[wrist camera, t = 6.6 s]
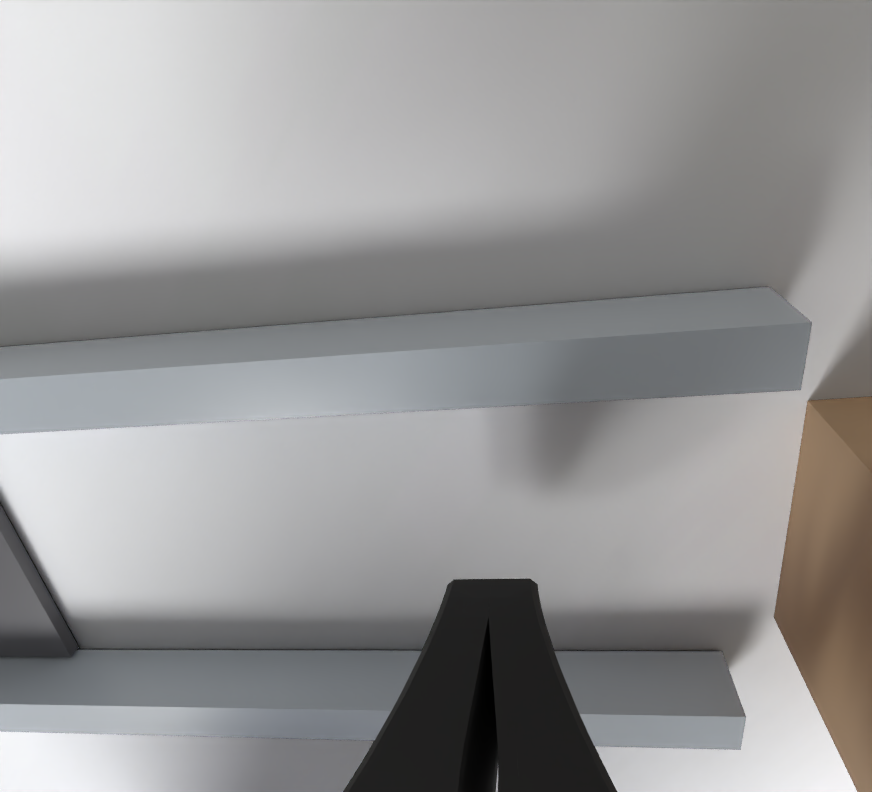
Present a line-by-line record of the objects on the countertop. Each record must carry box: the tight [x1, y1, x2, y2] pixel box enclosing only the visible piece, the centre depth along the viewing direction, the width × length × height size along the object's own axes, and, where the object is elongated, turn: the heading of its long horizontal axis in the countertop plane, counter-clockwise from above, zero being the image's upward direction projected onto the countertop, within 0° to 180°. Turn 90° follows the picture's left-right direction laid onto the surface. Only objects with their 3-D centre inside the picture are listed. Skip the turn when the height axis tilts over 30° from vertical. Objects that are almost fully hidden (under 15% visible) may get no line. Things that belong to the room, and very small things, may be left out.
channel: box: [0, 287, 812, 750], centre depth 12 cm, size 9×20×2 cm, turn 97°
